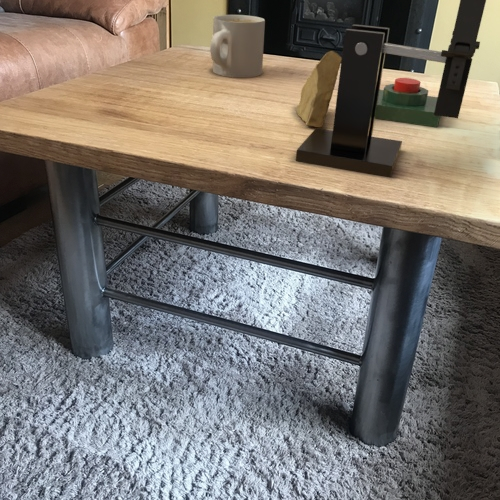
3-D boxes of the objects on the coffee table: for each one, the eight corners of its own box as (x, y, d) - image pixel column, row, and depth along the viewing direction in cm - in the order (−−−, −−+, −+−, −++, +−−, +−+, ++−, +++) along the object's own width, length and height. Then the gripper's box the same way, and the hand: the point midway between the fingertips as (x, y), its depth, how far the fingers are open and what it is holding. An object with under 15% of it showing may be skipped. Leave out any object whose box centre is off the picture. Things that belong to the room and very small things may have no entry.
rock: (338, 119, 80) (364, 95, 87) (307, 66, 78) (336, 46, 85) (284, 148, 87) (312, 124, 94) (254, 100, 86) (285, 79, 92)
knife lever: (465, 67, 67) (471, 46, 65) (463, 76, 62) (470, 54, 61) (356, 49, 70) (359, 29, 69) (348, 56, 66) (351, 35, 65)
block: (441, 110, 95) (446, 87, 93) (437, 127, 87) (442, 101, 85) (370, 101, 98) (374, 78, 96) (360, 116, 90) (364, 91, 88)
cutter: (400, 151, 76) (423, 28, 68) (390, 177, 68) (415, 40, 60) (314, 137, 80) (327, 18, 72) (295, 160, 71) (307, 29, 63)
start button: (419, 90, 92) (421, 79, 91) (417, 96, 89) (419, 85, 88) (394, 87, 93) (396, 76, 92) (391, 92, 90) (393, 81, 89)
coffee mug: (237, 64, 119) (239, 13, 114) (272, 73, 113) (275, 20, 108) (189, 72, 110) (189, 18, 105) (224, 82, 105) (225, 25, 100)
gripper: (463, -118, 64) (421, 88, 75) (458, -134, 49) (407, 125, 61) (534, -115, 62) (480, 96, 73) (551, -132, 47) (479, 136, 59)
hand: (447, 109), depth 67 cm, fingers closed on knife lever, 5 cm apart
